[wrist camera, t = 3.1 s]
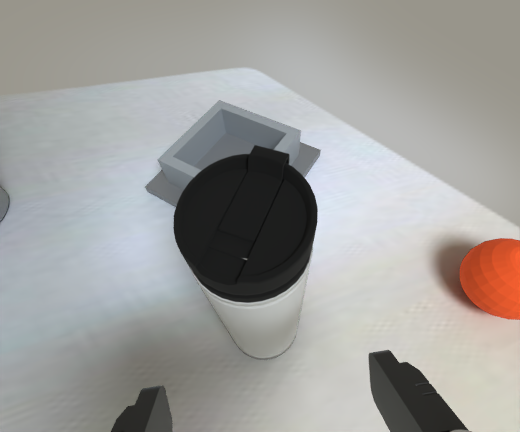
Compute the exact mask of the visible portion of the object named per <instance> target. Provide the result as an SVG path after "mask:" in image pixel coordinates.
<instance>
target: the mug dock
mask: <svg viewBox="0 0 520 432" xmlns="http://www.w3.org/2000/svg"><path fill="white" fill-rule="evenodd" d="M300 133H301V130H298V129H295V128H293V127H290V126H287V125H285V124H282V123H279V122H276V121H274V120H271V119H268V118H266V117H263V116H260V115H258V114H255V113H252V112H250V111H247V110H244V109H241V108H239V107H236V106H233V105H231V104H228V103H225V102H223V101H220V100H219V101H218V102H217V103H216V104H215V105H214V106H213V107H212V108H211V109H210V110H209V111H208V112H207V113H206V114H205V115H203V116H202V117H201V118H200V119H199V120H198V121H197V122H196V123H195V124H194V125H193V126H192V127H191V128H190V129H189V130H188V131H187V132H186V133H185V134H184V135H183V136H182V137H181V138H180V139H179V140H177V141H176V142H175V143H174V144H173V145H172V146H171V147H170V148H169V149H168V150H167V151H166V152H165V153H164V154H163V155H162V156H161V157H160V158H159V159H158V161H159V164H160V166H161V168H162V170H161V171H160V172H159V173H158V174H157V175H156V176H155V177H154V178H153V179H152V180H151V181H150V182H149V183H148V184H147V185H146V186H145V188H146V189H147V191H148V192H149V193H151V194H153V195H155V196H157V197H158V198H160V199H162V200H164V201H166V202H168V203H169V204H171V205H173V206H175V207H176V206H177V203H178V200H179V198H180V196H181V194H182V192H183V191H184V189H185V188H186V186H187V185H188V183H189V182H190V181H191V180H192V179H193V178H194V177H195V176H196V175H197V174H198V173H199V172H200V171H202V170H203V169H204V168H206V167H207V166H209V165H210V164H212V163H214V162H216V161H218V160H220V159H223V158H227V157H230V156H233V155H239V154H250V152H251V151H252V149H253V147H254V145H257V146H261V147H265V148H269V149H273V150H277V151H280V152H284V153H288V154H289V155H290V156H289V165H291V166H292V167H294V168H295V169H296V170H297V171H298V172H300V173H301V174H302V175H303V177H304V178H305V176H306V175H307V173H308V172H309V170H310V169H311V167H312V166H313V165H314V163H315V162H316V160H317V159H318V157H319V156H320V151H321V150H319V149H316V148H314V147H311V146H309V145H306V144H304V143H301V142H300Z"/></svg>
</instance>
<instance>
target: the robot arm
mask: <svg viewBox="0 0 520 432" xmlns="http://www.w3.org/2000/svg"><path fill="white" fill-rule="evenodd" d="M8 205H9V198H8V195H7V193H6V192H5V191H4V190H3V189H2V188H1V187H0V221H1V220H2V218H3V217H4V215H5V213H6V212H7V208H8ZM369 370H370V385H371V391H372V395H373V398H374V401H375V404H376V406H377V408H378V409H379V411H380V413H381V415H382V417H383V419H384V421H385V423H386V425H387V426H388V428H389V430H390V432H471V431H469V430H468V429H467V428H466V427H465V426H464V424H463V423H462V422H461V421H460V419H459V418H458V417H457V416H456V415H455V413H454V412H453V411H452V410H451V408H450V407H449V406H448V405H447V403H446V402H445V401H444V400H443V399H442V397H441V396H440V395H439V394H437V392H436V390H435V389H434V387H433V386H432V385H431V384H429V381H428V380H427V379H426V378H425V376H424V375H423V374H422V373H421V371H420V370H418V369H417V368H415V367H414V366H412V365H411V364H409V363H408V362H403V363H399V362H398V361H397V359H396V358H395V357H394V355H393V354H392V353H391V351H389V350H385V351H379V352H373V353H369ZM111 432H172V417H171V413H170V408H169V404H168V400H167V396H166V391H165V388H164V386H156V387H150V388H144V389H142V390H141V392H140V394H139V397H138V399H137V401H136V404H135V405H133V406H128V407H127V408H126V409H125V410H124V411H123V412H122V414H121V415H120V416H119V417H118V418H117V419H116V422H115V424H114V426H113V428H112V430H111Z"/></svg>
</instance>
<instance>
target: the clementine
mask: <svg viewBox="0 0 520 432" xmlns="http://www.w3.org/2000/svg"><path fill="white" fill-rule="evenodd" d="M460 282H461V285H462V288H463V290H464V292H465V293H466V295H467V297H468V298H469V299H470V300H471V301H472V302H473V303H474V304H475V305H476V306H478V307H479V308H480V309H482V310H483V311H485V312H487V313H489V314H491V315H494V316H498V317H502V318H506V319H517V320H520V241H519V240H514V239H502V238H501V239H494V240H489V241H485V242H483V243H481V244H479V245H478V246H476V247H474V248H472V249H471V250H470V251H469V252H468V254H467V255H466V256H465V257H464V259H463V260H462V263H461V266H460Z"/></svg>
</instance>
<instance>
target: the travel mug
mask: <svg viewBox="0 0 520 432" xmlns="http://www.w3.org/2000/svg"><path fill="white" fill-rule="evenodd" d="M289 156H290V155H289V154H288V153H284V152H280V151H277V150H273V149H269V148H265V147H261V146H257V145H254V147H253V149H252V151H251V152H250V154H239V155H233V156H230V157H227V158H223V159H220V160H218V161H216V162H214V163H212V164H210V165H209V166H207V167H206V168H204V169H203V170H202V171H200V172H199V173H198V174H197V175H196V176H195V177H194V178H193V179H192V180H191V181H190V182H189V183H188V185H187V186H186V188H185V189H184V191H183V192H182V194H181V196H180V198H179V200H178V203H177V206H176V210H175V214H174V234H175V239H176V243H177V245H178V247H179V249H180V252H181V254H182V255H183V257H184V259H185V260H186V262H187V264H188V265H189V267H190V269H191V271H192V273H193V276H194V277H195V279H196V280H197V282H198V284H199V285H200V287H201V289H202V290H203V292H204V293H205V295H206V297H207V298H208V300H209V301H210V303H211V305H212V306H213V308H214V309H215V311H216V313H217V314H218V316H219V317H220V319H221V321H222V322H223V324H224V325H225V327H226V329H227V330H228V332H229V333H230V335H231V337H232V338H233V340H234V341H235V343H236V344H237V346H238V347H239V349H240V350H242V351H243V352H244V353H245V354H247V355H248V356H250V357H252V358H256V359H262V360H266V359H272V358H275V357H278V356H280V355H281V354H283V353H284V352H285V351H286V350H287V349H289V347H290V346H291V344H292V343H293V341H294V339H295V336H296V332H297V327H298V322H299V317H300V312H301V307H302V302H303V297H304V292H305V287H306V282H307V277H308V272H309V267H310V262H311V257H312V252H313V241H314V236H315V231H316V226H317V204H316V200H315V196H314V193H313V191H312V189H311V187H310V185H309V183H308V182H307V181H306V179H305V178H304V177H303V175H302V174H301V173H300V172H298V171H297V170H296V169H295V168H294V167H292V166H291V165H289Z"/></svg>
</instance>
